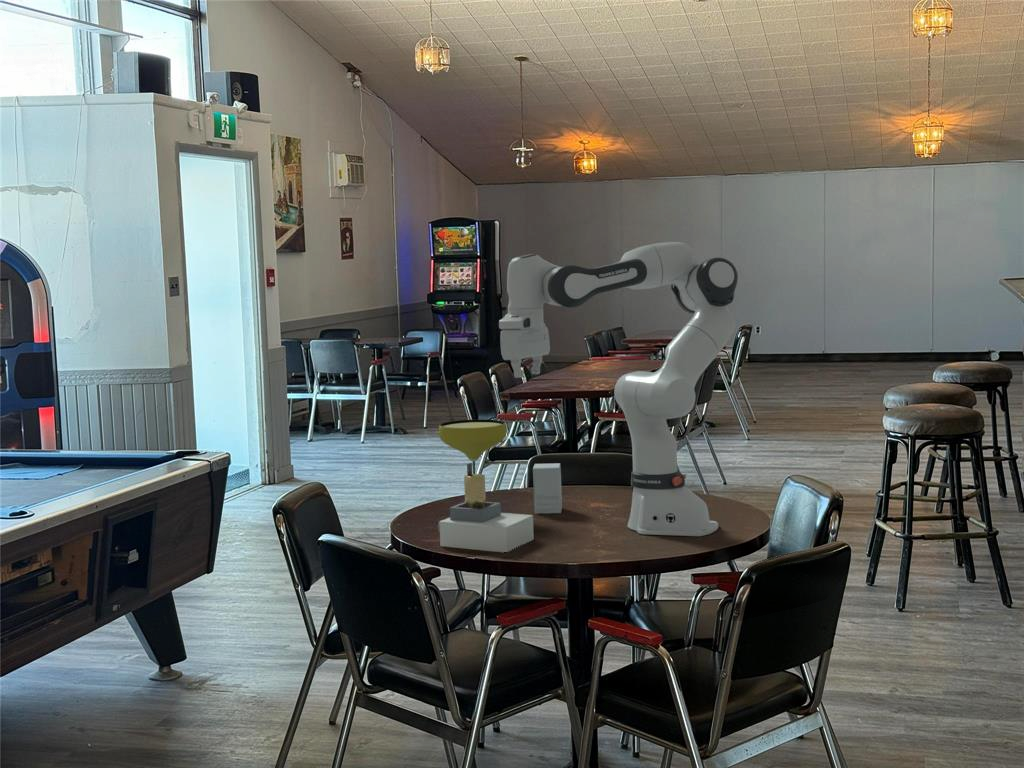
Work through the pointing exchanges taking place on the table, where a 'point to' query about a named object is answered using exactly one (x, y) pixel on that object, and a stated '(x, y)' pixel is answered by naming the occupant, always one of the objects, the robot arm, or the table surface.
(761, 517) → the table surface
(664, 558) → the table surface
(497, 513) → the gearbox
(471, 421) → the cocktail glass
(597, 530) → the table surface
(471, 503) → the spout can
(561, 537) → the table surface
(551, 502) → the supplement box
